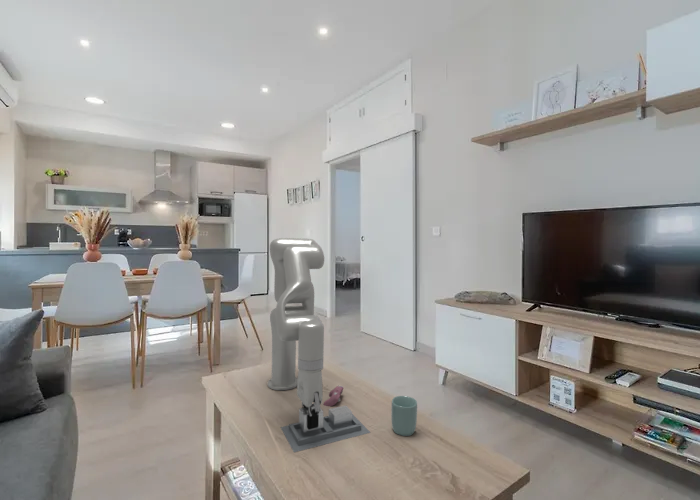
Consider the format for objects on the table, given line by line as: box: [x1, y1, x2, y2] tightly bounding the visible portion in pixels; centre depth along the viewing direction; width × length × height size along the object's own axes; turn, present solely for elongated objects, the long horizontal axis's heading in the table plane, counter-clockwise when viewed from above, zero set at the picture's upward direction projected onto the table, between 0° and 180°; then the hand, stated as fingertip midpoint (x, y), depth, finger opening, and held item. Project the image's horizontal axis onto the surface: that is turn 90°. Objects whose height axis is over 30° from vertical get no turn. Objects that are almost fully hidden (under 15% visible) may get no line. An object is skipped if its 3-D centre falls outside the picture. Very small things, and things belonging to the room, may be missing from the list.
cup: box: [390, 395, 418, 437], centre depth 108 cm, size 8×8×10 cm
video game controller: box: [322, 384, 345, 407], centre depth 127 cm, size 10×5×7 cm, turn 170°
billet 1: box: [298, 406, 324, 432], centre depth 105 cm, size 4×6×5 cm
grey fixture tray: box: [280, 413, 371, 453], centre depth 107 cm, size 14×24×2 cm, turn 116°
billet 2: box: [328, 405, 353, 430], centre depth 109 cm, size 4×6×5 cm
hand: (309, 423), depth 105 cm, fingers closed on billet 1, 4 cm apart
